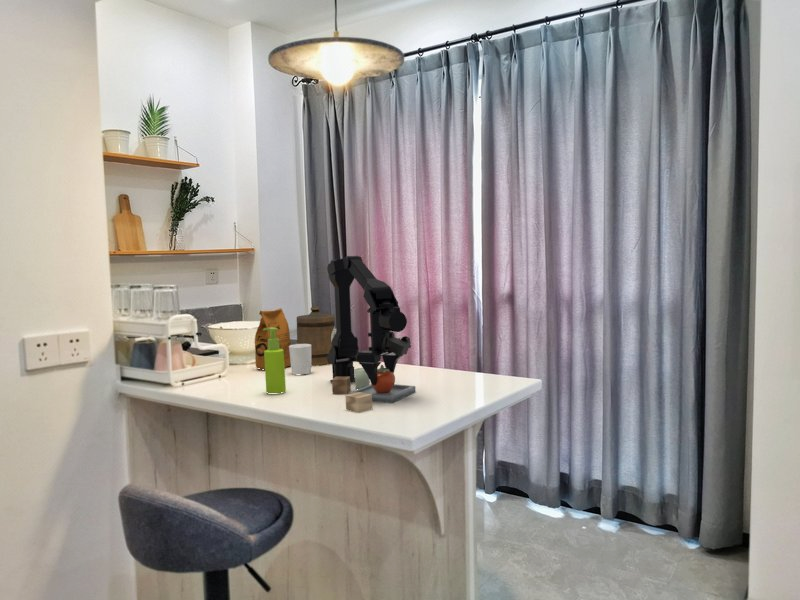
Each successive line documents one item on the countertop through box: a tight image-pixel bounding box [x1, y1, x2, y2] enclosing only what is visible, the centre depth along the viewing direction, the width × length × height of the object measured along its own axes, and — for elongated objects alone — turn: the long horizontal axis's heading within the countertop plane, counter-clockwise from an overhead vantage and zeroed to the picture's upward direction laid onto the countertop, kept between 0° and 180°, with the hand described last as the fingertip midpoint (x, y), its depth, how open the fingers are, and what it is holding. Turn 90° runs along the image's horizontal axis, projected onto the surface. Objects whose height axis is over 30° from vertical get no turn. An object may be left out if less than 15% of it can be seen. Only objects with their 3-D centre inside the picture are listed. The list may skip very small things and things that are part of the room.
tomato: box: [369, 364, 396, 393], centre depth 185 cm, size 7×7×8 cm
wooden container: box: [296, 305, 336, 367], centre depth 244 cm, size 15×15×22 cm
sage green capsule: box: [354, 367, 371, 390], centre depth 196 cm, size 4×4×6 cm
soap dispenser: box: [263, 327, 287, 393], centre depth 194 cm, size 6×7×20 cm
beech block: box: [344, 392, 373, 413], centre depth 170 cm, size 5×5×4 cm
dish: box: [349, 383, 417, 404], centre depth 185 cm, size 14×14×2 cm
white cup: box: [289, 343, 312, 375], centre depth 223 cm, size 8×8×10 cm
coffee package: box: [254, 308, 292, 371], centre depth 236 cm, size 10×12×22 cm
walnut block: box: [331, 377, 352, 395], centre depth 191 cm, size 4×4×4 cm
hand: (382, 381), depth 185 cm, fingers open, 9 cm apart
